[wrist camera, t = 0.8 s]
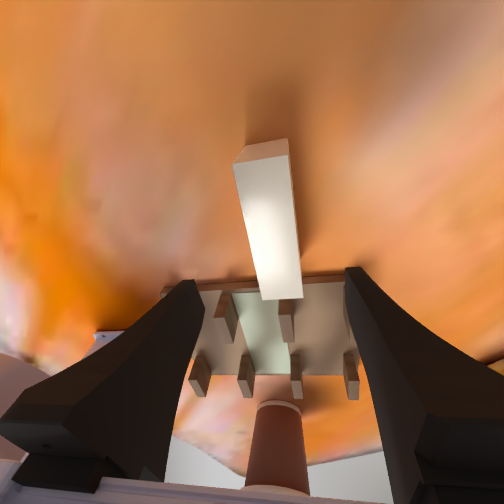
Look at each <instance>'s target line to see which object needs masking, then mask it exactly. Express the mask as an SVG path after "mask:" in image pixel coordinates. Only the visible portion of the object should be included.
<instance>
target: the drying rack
mask: <svg viewBox="0 0 504 504" xmlns="http://www.w3.org/2000/svg"><path fill="white" fill-rule="evenodd" d="M302 285H303V298H295V299H277V300H262V296H261V292H260V287H259V283H258V281H245V282H231V283H218V284H204V285H196V286H197V289H198V291H199V294H200V296H201V299H202V301H203V304H204V306H205V314H204V319H203V324H202V328H201V331H200V334H199V337H198V340H197V343H196V345H195V348H194V351H193V354H192V358H193V360H194V364H193V367H192V370H191V373H190V376H189V379H188V381H189V383H190V384H191V386H192V388H193V390H194V391H195V393H196V395H197V397H206V394H207V390H208V386H209V382H210V378H211V375H238V379H237V381H238V384H239V386H240V389H241V391H242V394H243V397H244V398H253V390H254V381H255V375H291V386H292V391H293V396H294V399H303V381H302V375H344V380H345V385H346V391H347V396H348V400H359V384H360V380H359V376H358V363H359V350H358V347H357V344H356V341H355V338H354V335H353V332H352V329H351V326H350V323H349V319H348V314H347V309H346V304H345V274H340V275H327V276H313V277H302ZM173 288H174V287H164V289H163V290H162V292H161V294H160V295H161V297H162V298H164V297H165V296H166V295H167V294H168V293H169V292H170V291H171V290H172V289H173Z"/></svg>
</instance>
